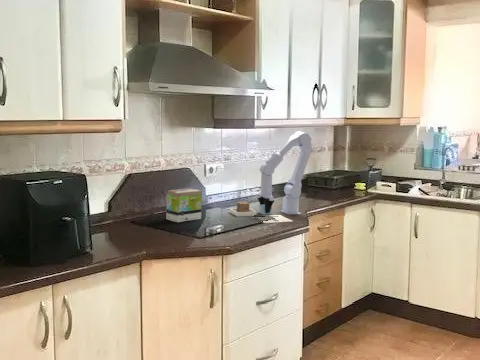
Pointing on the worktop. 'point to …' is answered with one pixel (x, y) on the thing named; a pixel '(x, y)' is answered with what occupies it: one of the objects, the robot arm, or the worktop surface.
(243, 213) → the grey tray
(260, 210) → the blue cube
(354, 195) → the worktop surface
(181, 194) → the tea box
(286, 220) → the letter board
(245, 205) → the walnut block
